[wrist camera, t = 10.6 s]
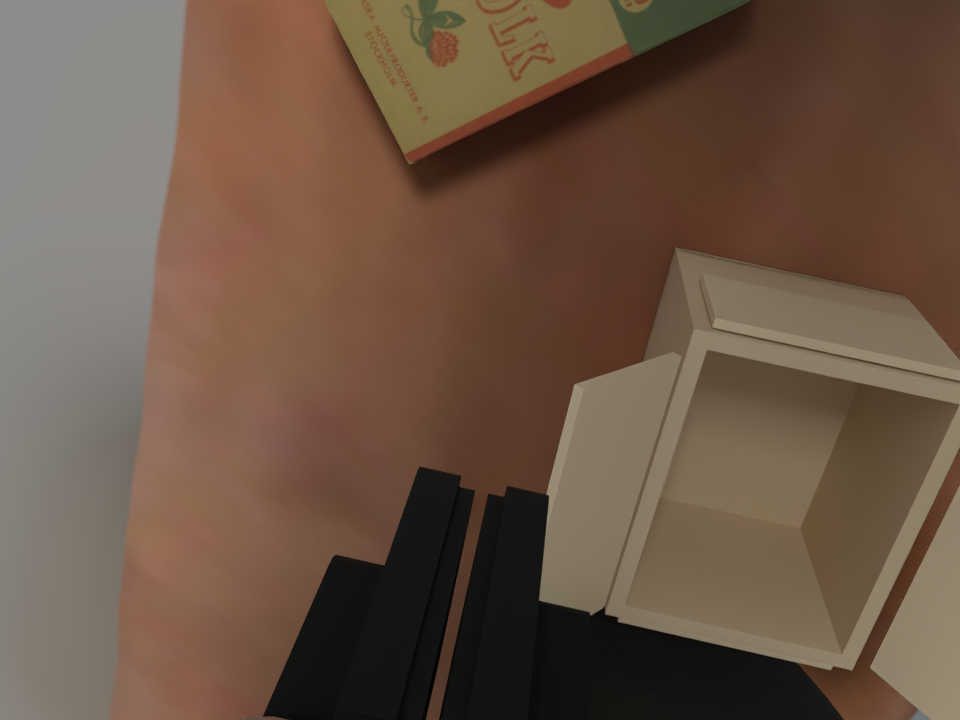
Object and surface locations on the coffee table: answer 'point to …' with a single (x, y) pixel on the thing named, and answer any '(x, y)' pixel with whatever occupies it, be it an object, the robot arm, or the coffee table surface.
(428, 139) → the carton
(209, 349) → the coffee table surface
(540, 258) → the coffee table surface
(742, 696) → the flower pot
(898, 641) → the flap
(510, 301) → the coffee table surface
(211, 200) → the coffee table surface
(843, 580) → the shipping box
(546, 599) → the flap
